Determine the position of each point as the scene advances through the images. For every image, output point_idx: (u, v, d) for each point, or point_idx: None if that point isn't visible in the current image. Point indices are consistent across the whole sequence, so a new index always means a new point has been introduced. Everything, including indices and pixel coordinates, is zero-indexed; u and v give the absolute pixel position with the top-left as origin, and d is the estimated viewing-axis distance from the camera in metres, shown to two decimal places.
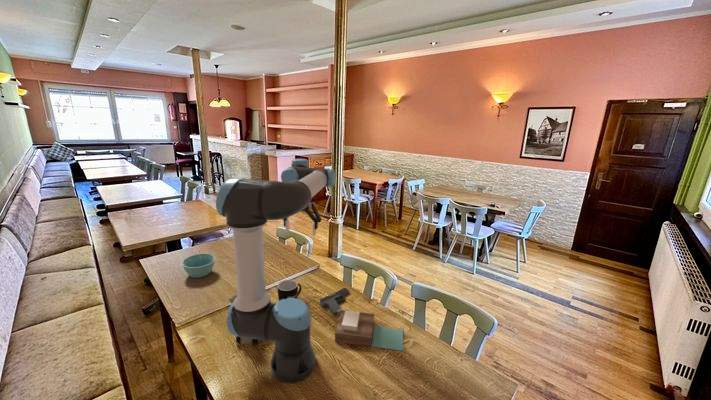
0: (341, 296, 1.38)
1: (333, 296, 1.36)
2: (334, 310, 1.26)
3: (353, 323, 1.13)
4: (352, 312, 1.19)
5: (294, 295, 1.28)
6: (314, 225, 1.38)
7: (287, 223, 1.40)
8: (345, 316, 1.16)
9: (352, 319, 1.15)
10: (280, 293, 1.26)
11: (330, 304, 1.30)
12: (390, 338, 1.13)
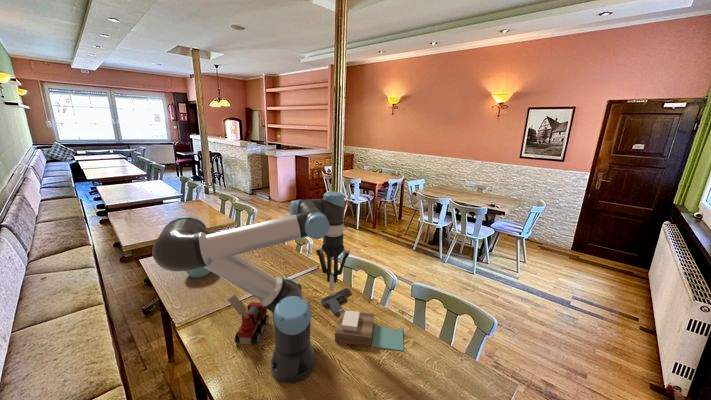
0: (342, 296, 1.38)
1: (334, 296, 1.36)
2: (335, 310, 1.26)
3: (353, 323, 1.13)
4: (352, 312, 1.19)
5: None
6: (333, 278, 1.10)
7: None
8: (345, 316, 1.16)
9: (352, 319, 1.15)
10: None
11: (331, 304, 1.30)
12: (390, 338, 1.13)
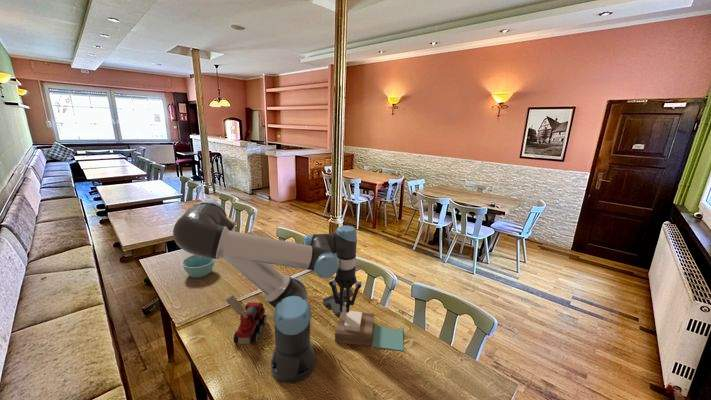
0: (344, 296, 1.38)
1: None
2: (336, 310, 1.26)
3: (355, 323, 1.13)
4: (354, 312, 1.19)
5: None
6: (346, 308, 1.13)
7: None
8: (347, 316, 1.16)
9: (355, 319, 1.15)
10: None
11: (333, 304, 1.30)
12: (390, 338, 1.13)
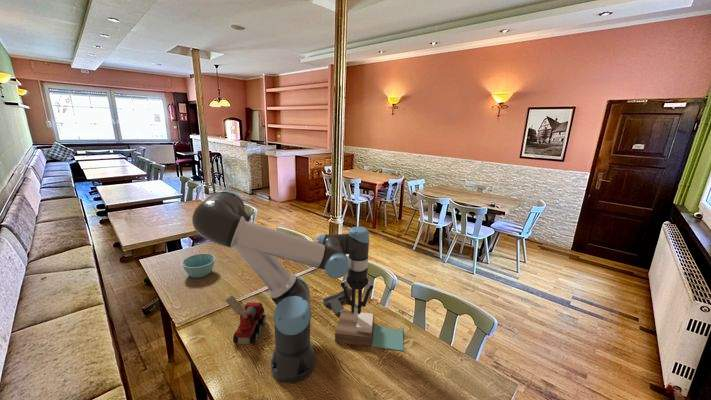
0: None
1: (337, 296, 1.36)
2: (336, 310, 1.26)
3: (367, 324, 1.12)
4: (366, 314, 1.18)
5: None
6: (357, 309, 1.13)
7: None
8: (359, 318, 1.16)
9: (366, 321, 1.14)
10: None
11: (333, 304, 1.30)
12: (390, 338, 1.13)
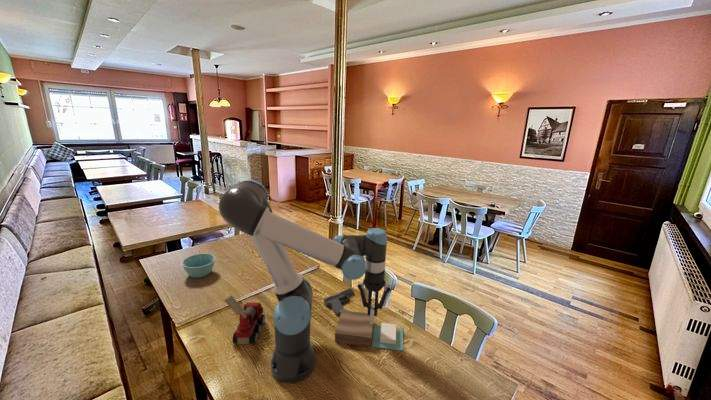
0: (345, 296, 1.38)
1: (337, 296, 1.36)
2: (337, 310, 1.26)
3: None
4: None
5: None
6: (374, 312, 1.12)
7: None
8: None
9: None
10: None
11: (333, 304, 1.30)
12: None
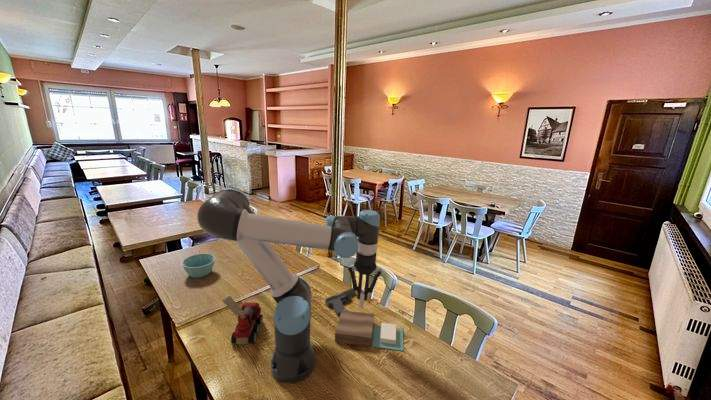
0: (347, 297, 1.38)
1: (339, 296, 1.36)
2: (338, 310, 1.26)
3: None
4: None
5: None
6: (364, 296, 1.10)
7: None
8: None
9: None
10: None
11: (335, 304, 1.30)
12: None
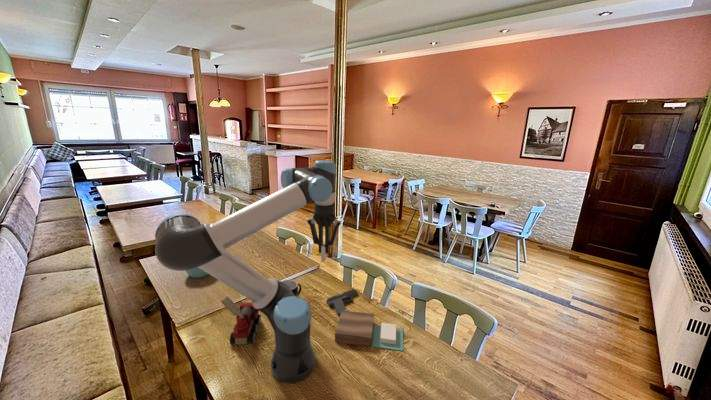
0: (349, 297, 1.38)
1: (340, 296, 1.36)
2: (339, 310, 1.26)
3: None
4: None
5: None
6: (325, 249, 1.10)
7: None
8: None
9: None
10: None
11: (336, 304, 1.30)
12: None
